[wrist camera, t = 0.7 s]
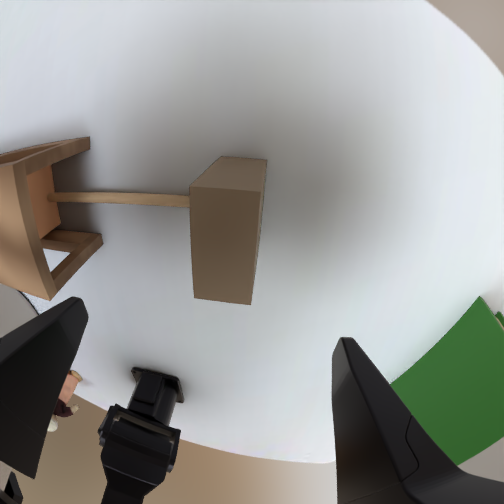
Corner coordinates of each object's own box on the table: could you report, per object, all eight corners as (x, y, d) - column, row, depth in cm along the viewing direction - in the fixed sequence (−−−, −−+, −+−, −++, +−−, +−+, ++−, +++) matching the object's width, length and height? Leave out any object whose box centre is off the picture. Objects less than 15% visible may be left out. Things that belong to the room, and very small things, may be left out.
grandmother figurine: (62, 373, 37) (35, 424, 26) (54, 360, 35) (24, 414, 24) (94, 386, 37) (68, 444, 26) (87, 374, 35) (57, 435, 24)
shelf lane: (103, 244, 21) (50, 301, 14) (7, 232, 22) (-36, 268, 15) (89, 136, 17) (12, 164, 10) (-8, 156, 17) (-60, 183, 10)
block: (259, 241, 20) (250, 305, 14) (26, 220, 21) (-18, 253, 15) (266, 159, 17) (260, 191, 11) (16, 166, 18) (-35, 192, 12)
